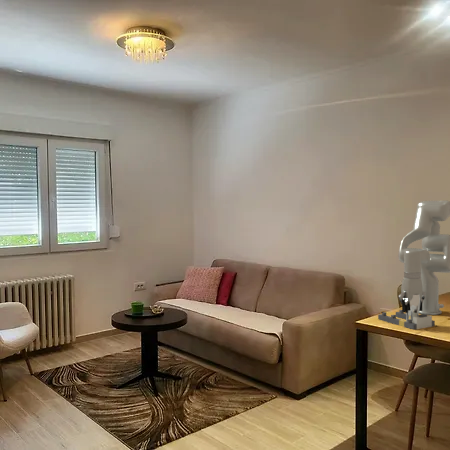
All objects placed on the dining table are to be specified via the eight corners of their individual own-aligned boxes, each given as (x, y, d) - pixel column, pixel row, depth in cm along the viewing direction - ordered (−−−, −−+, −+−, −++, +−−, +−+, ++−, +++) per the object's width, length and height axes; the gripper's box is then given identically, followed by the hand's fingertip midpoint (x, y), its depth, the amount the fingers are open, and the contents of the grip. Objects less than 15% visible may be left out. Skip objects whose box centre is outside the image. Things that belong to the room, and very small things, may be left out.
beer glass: (404, 322, 222) (404, 291, 221) (419, 323, 219) (420, 292, 218) (404, 325, 215) (404, 294, 215) (420, 326, 212) (420, 295, 212)
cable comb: (398, 316, 233) (398, 304, 233) (434, 326, 214) (434, 313, 213) (378, 319, 227) (378, 307, 227) (413, 329, 207) (413, 316, 207)
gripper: (418, 273, 223) (418, 308, 224) (393, 276, 216) (392, 311, 216) (431, 275, 216) (431, 311, 217) (405, 278, 209) (405, 315, 209)
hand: (412, 311), depth 217 cm, fingers open, 9 cm apart
